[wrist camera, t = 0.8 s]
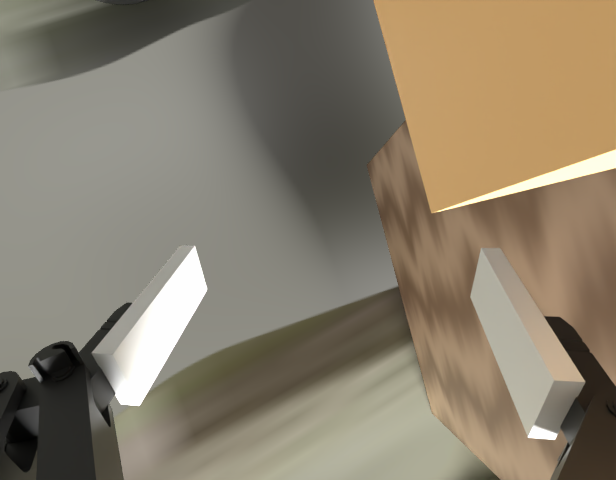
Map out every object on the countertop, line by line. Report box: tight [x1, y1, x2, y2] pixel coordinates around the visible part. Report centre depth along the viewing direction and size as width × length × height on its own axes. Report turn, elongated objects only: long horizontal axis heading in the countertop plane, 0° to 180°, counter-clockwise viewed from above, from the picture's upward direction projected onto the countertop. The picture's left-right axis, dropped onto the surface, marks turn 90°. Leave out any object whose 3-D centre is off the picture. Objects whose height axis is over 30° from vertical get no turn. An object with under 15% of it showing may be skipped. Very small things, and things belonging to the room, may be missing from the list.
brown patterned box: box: [367, 120, 616, 480], centre depth 20 cm, size 26×14×32 cm, turn 14°
